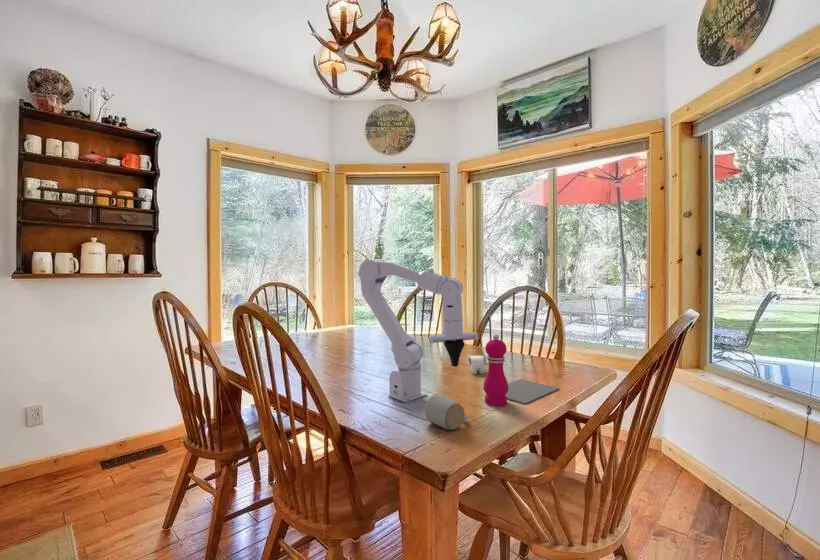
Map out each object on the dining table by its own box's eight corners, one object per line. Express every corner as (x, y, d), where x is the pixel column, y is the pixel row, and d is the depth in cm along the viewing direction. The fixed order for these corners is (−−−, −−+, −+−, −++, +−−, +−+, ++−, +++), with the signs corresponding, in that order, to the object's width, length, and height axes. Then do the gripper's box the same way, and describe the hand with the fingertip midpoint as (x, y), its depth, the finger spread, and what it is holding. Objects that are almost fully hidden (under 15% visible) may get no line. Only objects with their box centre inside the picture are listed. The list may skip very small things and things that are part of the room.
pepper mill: (513, 401, 119) (513, 334, 118) (500, 408, 114) (500, 337, 113) (491, 396, 124) (491, 331, 123) (478, 402, 119) (478, 334, 118)
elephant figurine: (484, 368, 157) (484, 350, 156) (490, 375, 147) (490, 355, 147) (464, 368, 156) (464, 350, 156) (469, 375, 147) (469, 356, 147)
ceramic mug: (446, 435, 97) (446, 404, 97) (424, 425, 103) (424, 396, 103) (474, 424, 104) (475, 395, 104) (451, 415, 110) (452, 388, 109)
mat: (525, 404, 117) (525, 403, 117) (485, 393, 127) (485, 391, 127) (559, 389, 131) (559, 387, 131) (520, 380, 141) (520, 378, 141)
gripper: (471, 316, 125) (473, 360, 126) (425, 319, 123) (427, 364, 123) (480, 319, 119) (481, 365, 119) (431, 322, 116) (433, 370, 116)
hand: (454, 365), depth 121 cm, fingers closed
